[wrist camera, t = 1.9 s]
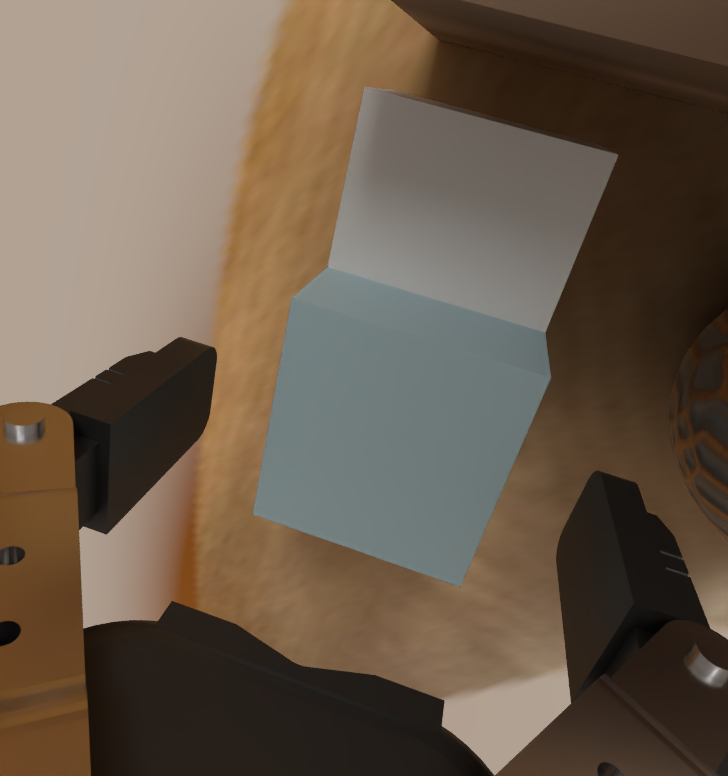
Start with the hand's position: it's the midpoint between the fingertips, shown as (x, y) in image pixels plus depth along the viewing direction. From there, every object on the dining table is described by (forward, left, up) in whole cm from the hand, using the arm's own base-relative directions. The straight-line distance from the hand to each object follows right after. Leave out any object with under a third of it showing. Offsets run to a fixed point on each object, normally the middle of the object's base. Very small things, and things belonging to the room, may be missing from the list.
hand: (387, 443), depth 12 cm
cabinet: (-2, 0, -7) cm, 7 cm away
